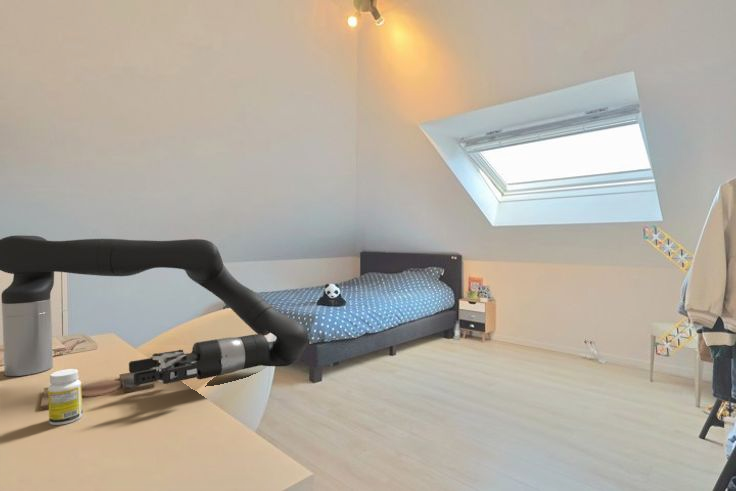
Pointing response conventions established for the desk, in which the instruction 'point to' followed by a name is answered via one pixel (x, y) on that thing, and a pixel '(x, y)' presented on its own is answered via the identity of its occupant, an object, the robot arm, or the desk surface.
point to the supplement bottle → (64, 397)
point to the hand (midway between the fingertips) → (131, 373)
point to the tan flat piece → (104, 388)
